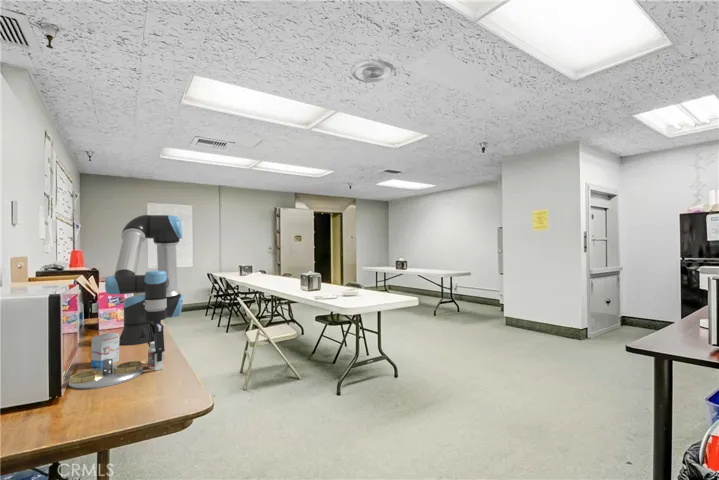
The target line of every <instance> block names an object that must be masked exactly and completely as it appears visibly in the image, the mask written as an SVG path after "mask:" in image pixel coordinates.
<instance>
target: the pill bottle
mask: <svg viewBox="0 0 719 480" xmlns="http://www.w3.org/2000/svg"><path fill="white" fill-rule="evenodd" d="M150 347H151V348H149V347H148V350H147V368H148V369H150V370H151V369H154V370H155V354H154V352H155V342H151V343H150ZM164 353H165V351H164V352H163V366H164V360H165V359H164Z"/></svg>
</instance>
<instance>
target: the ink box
mask: <svg viewBox="0 0 719 480" xmlns="http://www.w3.org/2000/svg"><path fill="white" fill-rule="evenodd" d="M90 347H91V350H90V354H91V355H90V367H92V368H98V367H103V360H105V359H113V364H115V363H117V362H119V361H120V333H116V332H107V333H104V334H98V335H95V336H93V337H91V346H90Z"/></svg>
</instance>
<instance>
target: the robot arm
mask: <svg viewBox="0 0 719 480" xmlns="http://www.w3.org/2000/svg"><path fill="white" fill-rule="evenodd" d="M182 238H183V230H182V222H181V218H180V217H179V216H177V215H169V214H166V215H165V214H164V215H163V214H162V215H161V214H160V215H159V214H158V215H156V214H151V215H150V214H143V215H138V216H137V217H134V218H133V219H131V220H130V221H129V222H127V223H126V225H125V226H124V227H123V229H122V232H121V239H122V241H121V246H120V251H119V255H118V259H117V263H116V266H115V271H114V274H113V275H110V276H109V275H108V276H107V277H106V279H105V282H104V283H105V284H104V290H105V292H106V293H107V295H118V296H119V295H128V294H129V295H130V294H131V295H132V294H137V295H132V296H129V297H126V298H125V299H124V301H123V308H122V309H123V328H122V330H121V331H122V332H121V334H120V335H119V345H124V346H127V345H128V346H129V345H139V344H140V345H141V344H145V342H146V343H147V345H148V349H149V348H151V347H150V343H151V342H155V352H154V354H155V369H154V371H160V370H163V369H164V365H163V352H164V353H165V351H166V349H165V337H164V325H163V323H162V322H161V321H163V320H166V319H169V318H171V319H172V318H177V317H179V316H181V314H182V308H183V300H184V294H181V290H180V289H178V271H177V270H178V269H177V268H178V265H177V245H178V244H179V243H180V240H181V239H182ZM146 239H153V240H152V241H153V244H154V245H156V255H157V260H156V261H157V270H149V271H146V272H145V274H137V272H138V271H137V270H138V264H139V261H140V254H141V251H142V250H141V249H142V246H143V245H142V244H143V242H145V240H146ZM147 341H148V342H147Z"/></svg>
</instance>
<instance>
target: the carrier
mask: <svg viewBox="0 0 719 480" xmlns="http://www.w3.org/2000/svg"><path fill="white" fill-rule="evenodd" d="M143 372H144V368H143V363H142V361H140V360H139V361H137V360H134V361H125V362H121V363H118V364H117V363H113V359H105V360H103V367H93V368H91V369H88V370H85V371H81V372H76V373H74V374H72V375H70V376H69V379H68V387H69V386H70V387H69V388H71V389H74V388H75V389H74V390H93V389H94V390H95V389H102V388H107V387H112V386H116V385H120V384H123V383H126V382H129V381H132V380H134V379H136V378H138V377H139V376H140V375H142V374H143Z"/></svg>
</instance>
